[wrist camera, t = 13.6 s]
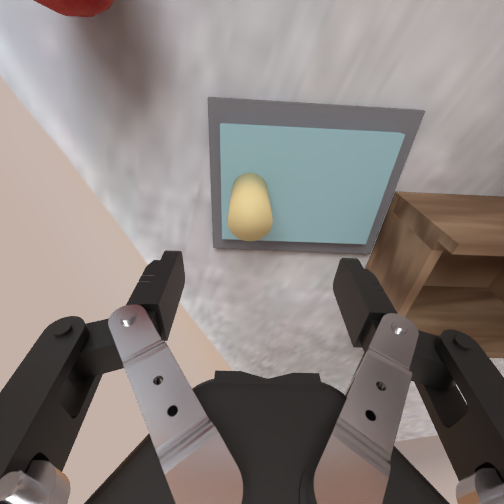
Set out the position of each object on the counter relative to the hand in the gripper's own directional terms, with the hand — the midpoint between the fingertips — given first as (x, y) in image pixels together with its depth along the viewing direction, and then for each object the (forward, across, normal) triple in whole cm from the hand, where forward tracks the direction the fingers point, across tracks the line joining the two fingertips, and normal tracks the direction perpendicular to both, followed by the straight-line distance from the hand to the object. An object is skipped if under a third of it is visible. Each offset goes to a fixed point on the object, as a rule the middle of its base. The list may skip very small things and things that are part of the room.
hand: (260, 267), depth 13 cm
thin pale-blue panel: (+11, -4, 0) cm, 12 cm away
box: (+12, -20, +6) cm, 24 cm away
